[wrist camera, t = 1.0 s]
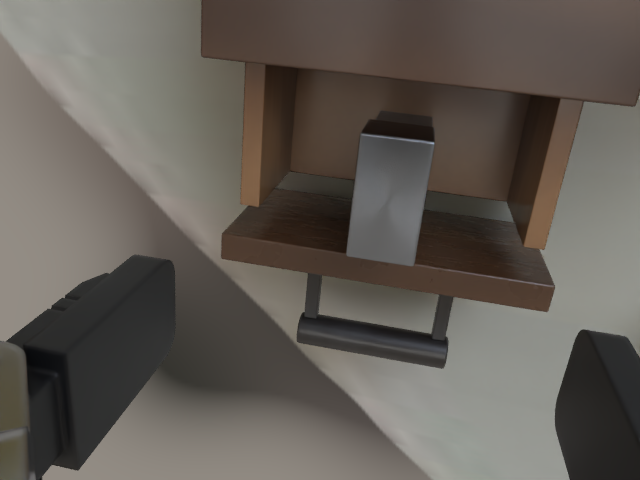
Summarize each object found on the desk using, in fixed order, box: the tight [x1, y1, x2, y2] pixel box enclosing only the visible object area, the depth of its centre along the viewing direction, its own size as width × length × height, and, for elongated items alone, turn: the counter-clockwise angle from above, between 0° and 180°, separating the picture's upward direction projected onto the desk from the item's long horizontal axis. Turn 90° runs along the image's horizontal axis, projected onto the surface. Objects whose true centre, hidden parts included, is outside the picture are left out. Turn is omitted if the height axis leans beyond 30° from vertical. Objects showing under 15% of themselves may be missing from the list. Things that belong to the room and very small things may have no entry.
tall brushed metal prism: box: [346, 111, 435, 267], centre depth 23 cm, size 4×2×8 cm, turn 175°
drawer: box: [221, 62, 584, 369], centre depth 25 cm, size 18×13×7 cm
